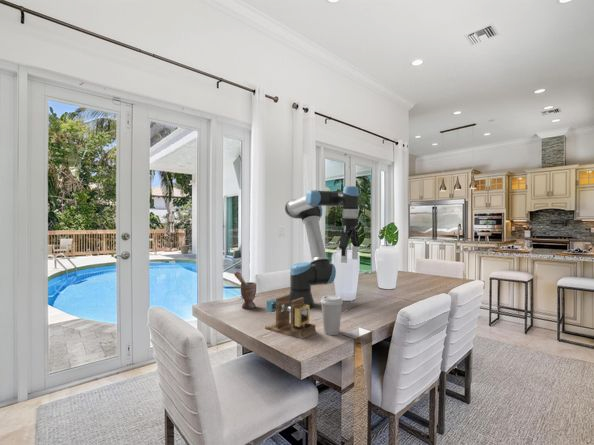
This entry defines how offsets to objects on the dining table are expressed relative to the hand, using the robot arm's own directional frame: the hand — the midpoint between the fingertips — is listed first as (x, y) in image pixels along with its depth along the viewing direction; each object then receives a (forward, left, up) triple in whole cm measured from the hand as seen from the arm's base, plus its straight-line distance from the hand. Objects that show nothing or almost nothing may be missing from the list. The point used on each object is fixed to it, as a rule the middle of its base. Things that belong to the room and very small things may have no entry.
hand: (349, 261), depth 154 cm
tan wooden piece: (-6, -32, -20) cm, 38 cm away
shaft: (-14, -32, -21) cm, 41 cm away
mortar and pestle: (-52, -19, -28) cm, 62 cm away
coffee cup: (+3, -24, -28) cm, 37 cm away
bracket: (-12, -32, -28) cm, 44 cm away
